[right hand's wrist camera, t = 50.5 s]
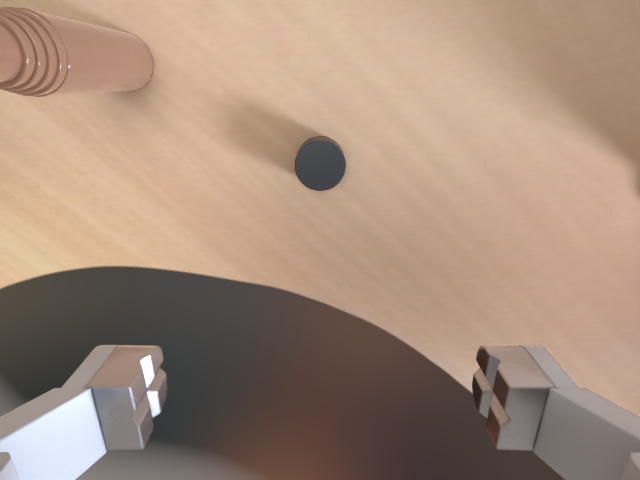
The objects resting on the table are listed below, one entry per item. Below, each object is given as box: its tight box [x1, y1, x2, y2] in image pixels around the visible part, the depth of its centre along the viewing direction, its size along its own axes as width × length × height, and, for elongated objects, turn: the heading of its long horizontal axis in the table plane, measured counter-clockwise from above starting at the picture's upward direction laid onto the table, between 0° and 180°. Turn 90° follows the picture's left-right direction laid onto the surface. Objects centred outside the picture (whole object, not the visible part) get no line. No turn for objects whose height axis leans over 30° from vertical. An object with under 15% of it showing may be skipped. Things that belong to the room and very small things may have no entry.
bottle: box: [0, 7, 153, 97], centre depth 26 cm, size 4×4×18 cm
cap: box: [295, 136, 346, 191], centre depth 36 cm, size 4×4×3 cm
